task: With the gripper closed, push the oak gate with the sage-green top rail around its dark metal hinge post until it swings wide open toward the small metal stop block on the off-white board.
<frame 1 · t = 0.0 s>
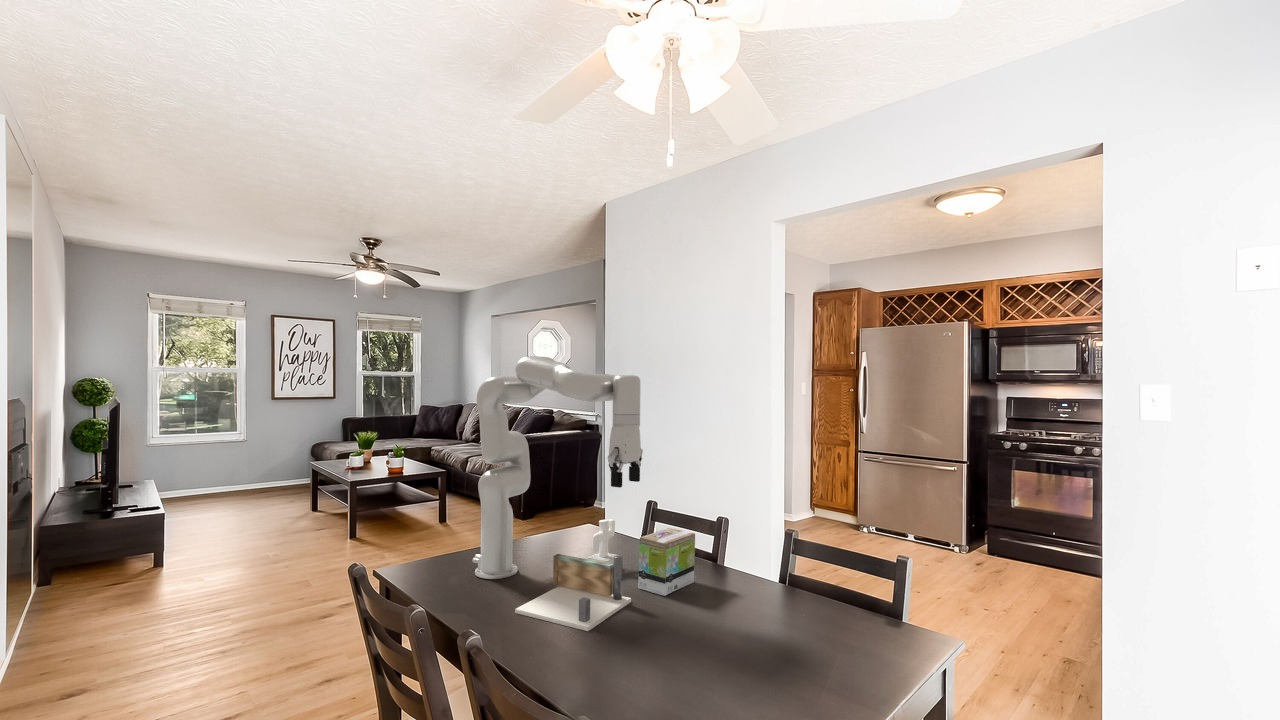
hand: (625, 484, 161), 31 cm above the table, tool pointing down, fingers open, 9 cm apart
gate: (582, 574, 164), point 5 cm above the table, hinge at 0.0°
figurine: (603, 568, 186), on the table
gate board: (574, 607, 155), on the table
hinge post: (617, 602, 158), resting on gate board
tea box: (666, 586, 171), on the table
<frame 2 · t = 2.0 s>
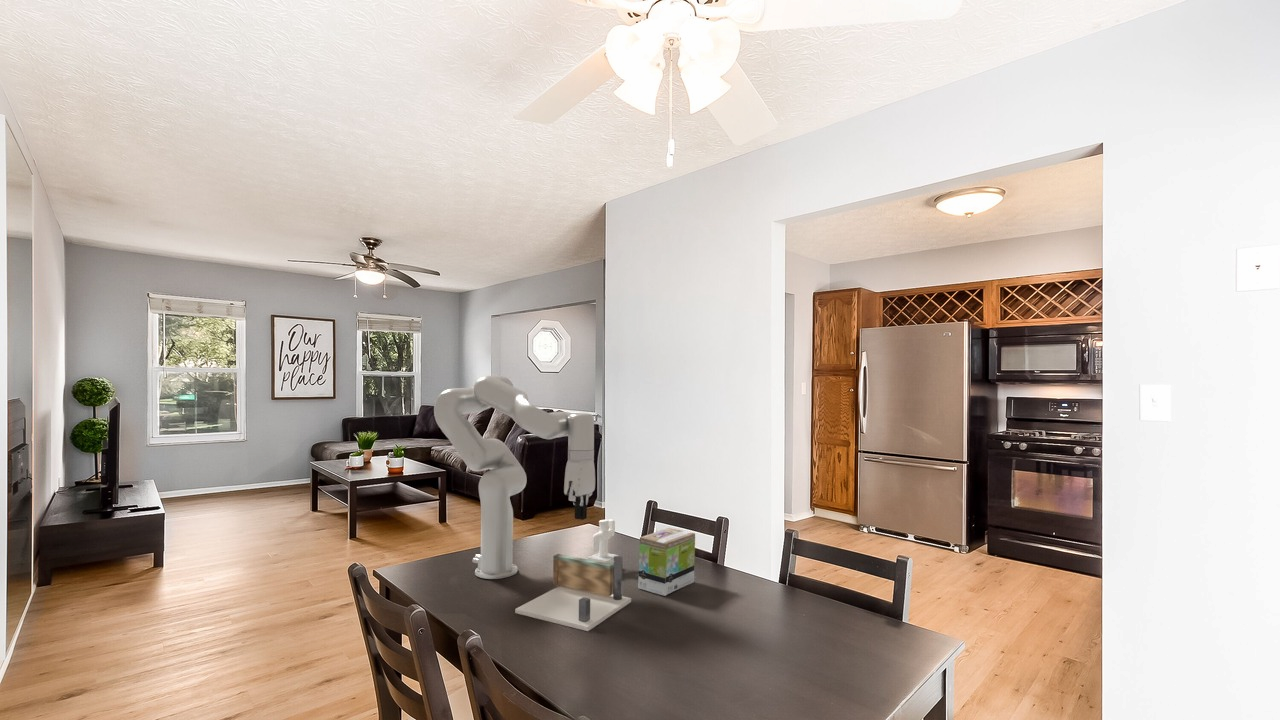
hand: (580, 518, 173), 19 cm above the table, tool pointing down, fingers closed
nothing on the table moved.
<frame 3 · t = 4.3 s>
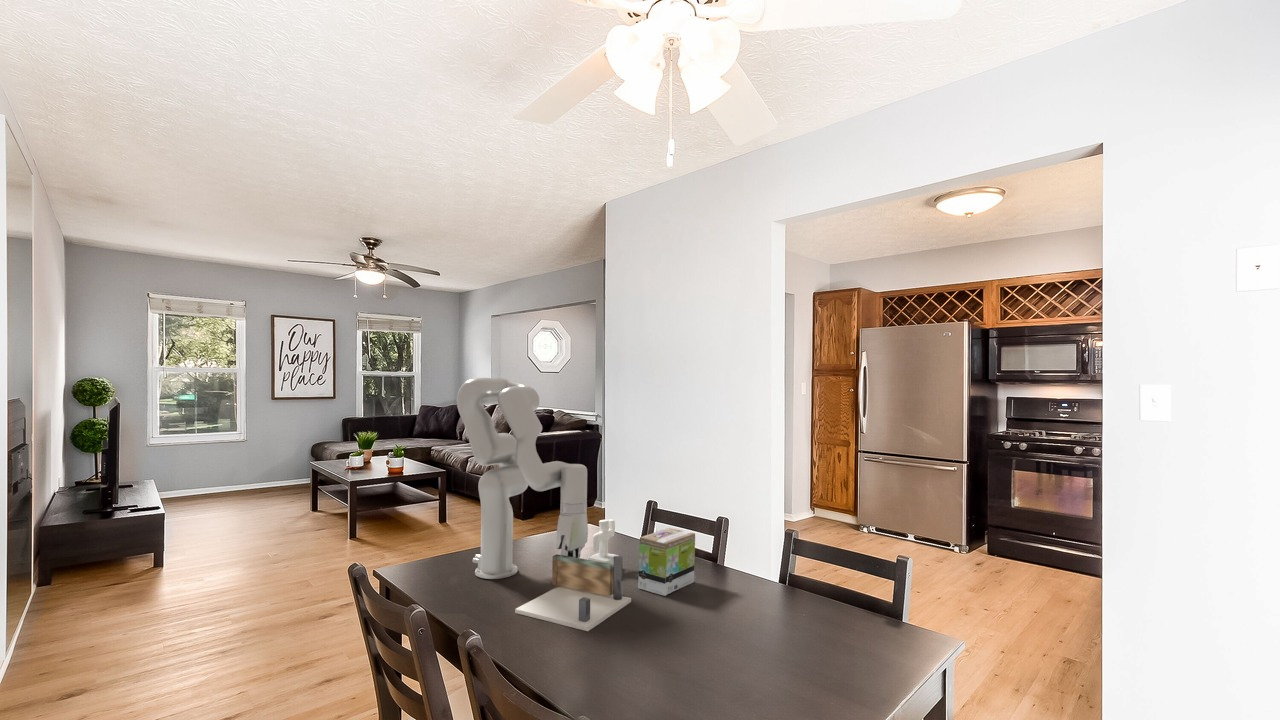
hand: (572, 572, 170), 4 cm above the table, tool pointing down, fingers closed
gate: (582, 574, 164), point 5 cm above the table, hinge at 1.3°, touching gripper
everything else where it was.
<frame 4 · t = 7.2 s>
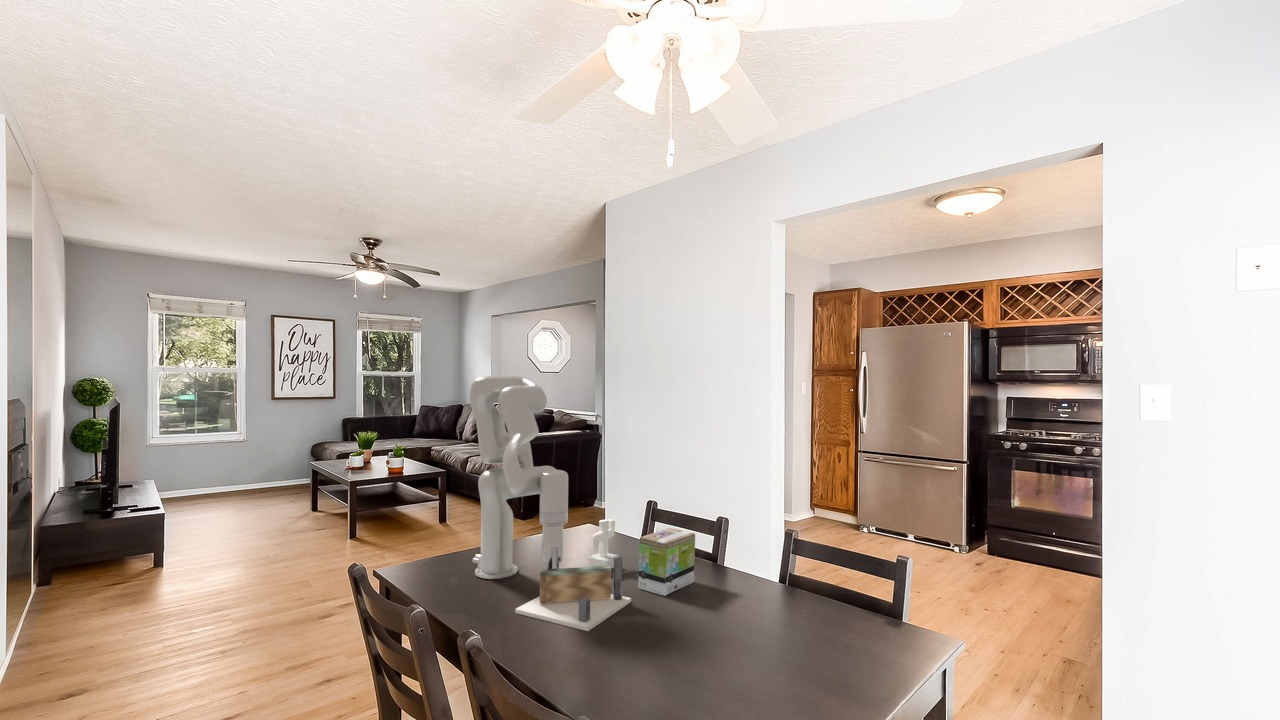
hand: (552, 585, 159), 4 cm above the table, tool pointing down, fingers closed
gate: (575, 584, 156), point 5 cm above the table, hinge at 40.5°, touching gripper
everything else where it was.
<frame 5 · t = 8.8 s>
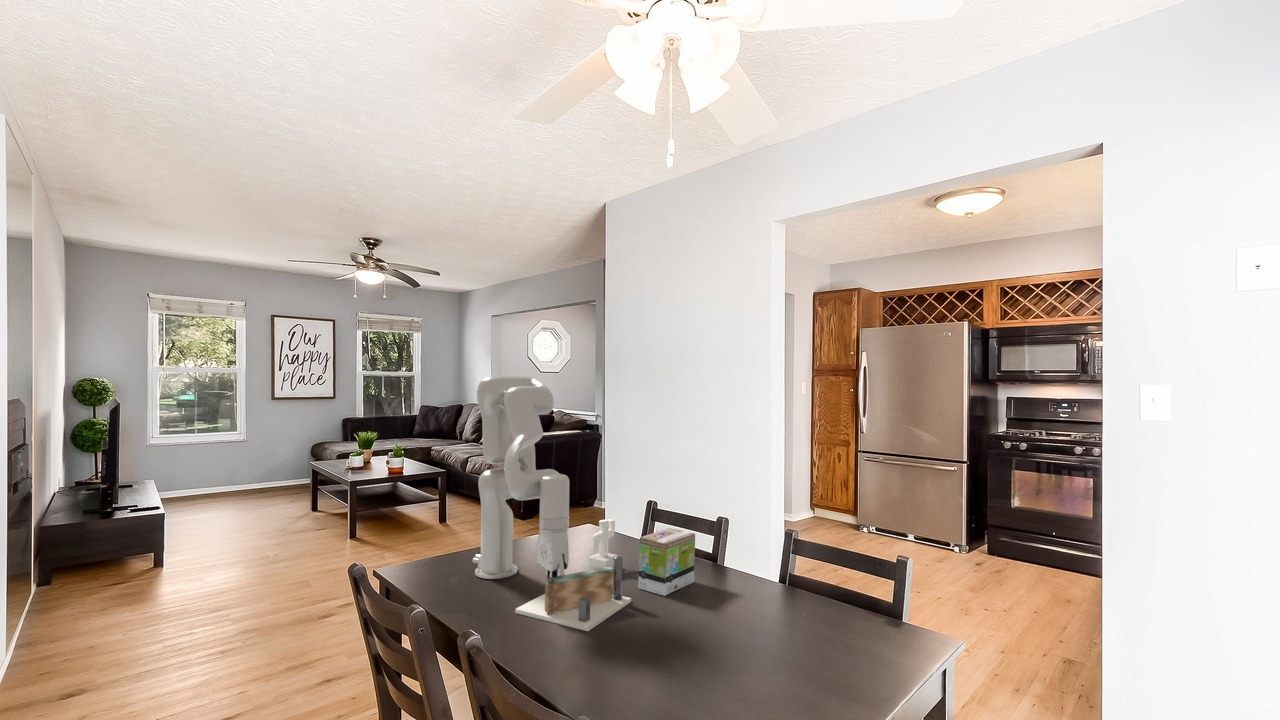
hand: (553, 594, 153), 4 cm above the table, tool pointing down, fingers closed
gate: (580, 589, 153), point 5 cm above the table, hinge at 60.6°, touching gripper
everything else where it was.
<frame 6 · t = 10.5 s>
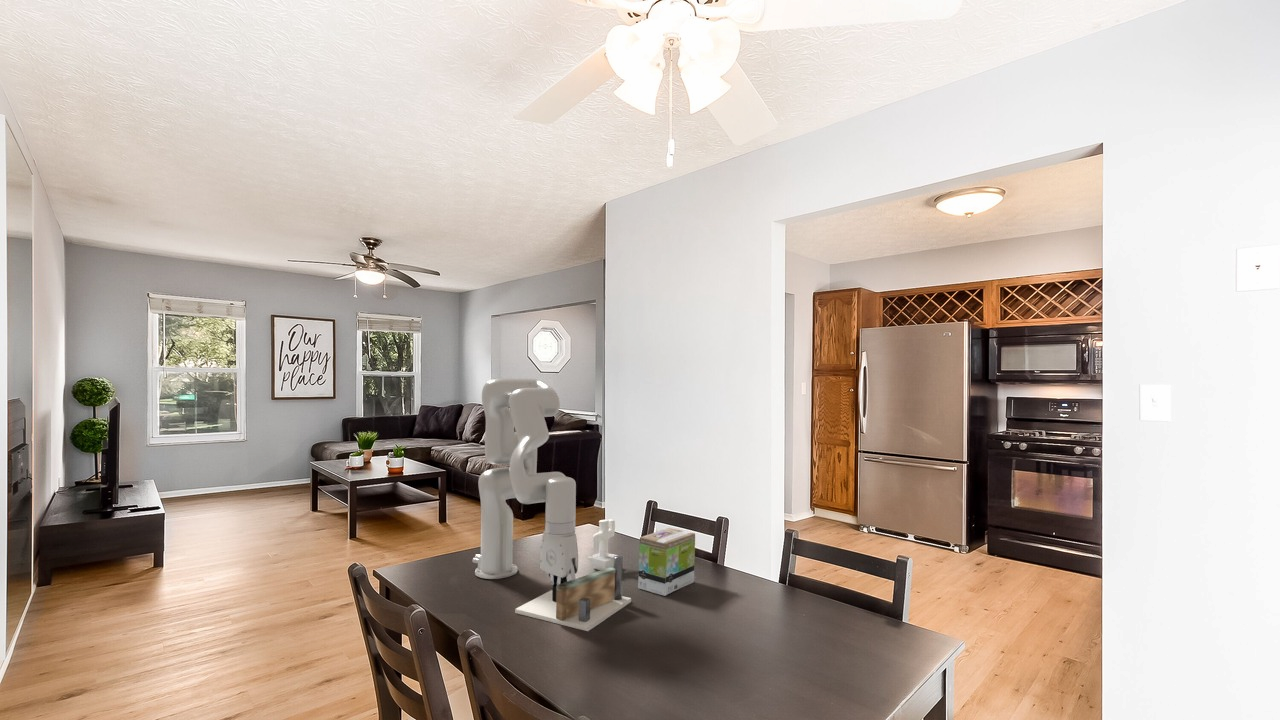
hand: (559, 600, 149), 4 cm above the table, tool pointing down, fingers closed
gate: (587, 592, 150), point 5 cm above the table, hinge at 76.6°, touching gripper
everything else where it was.
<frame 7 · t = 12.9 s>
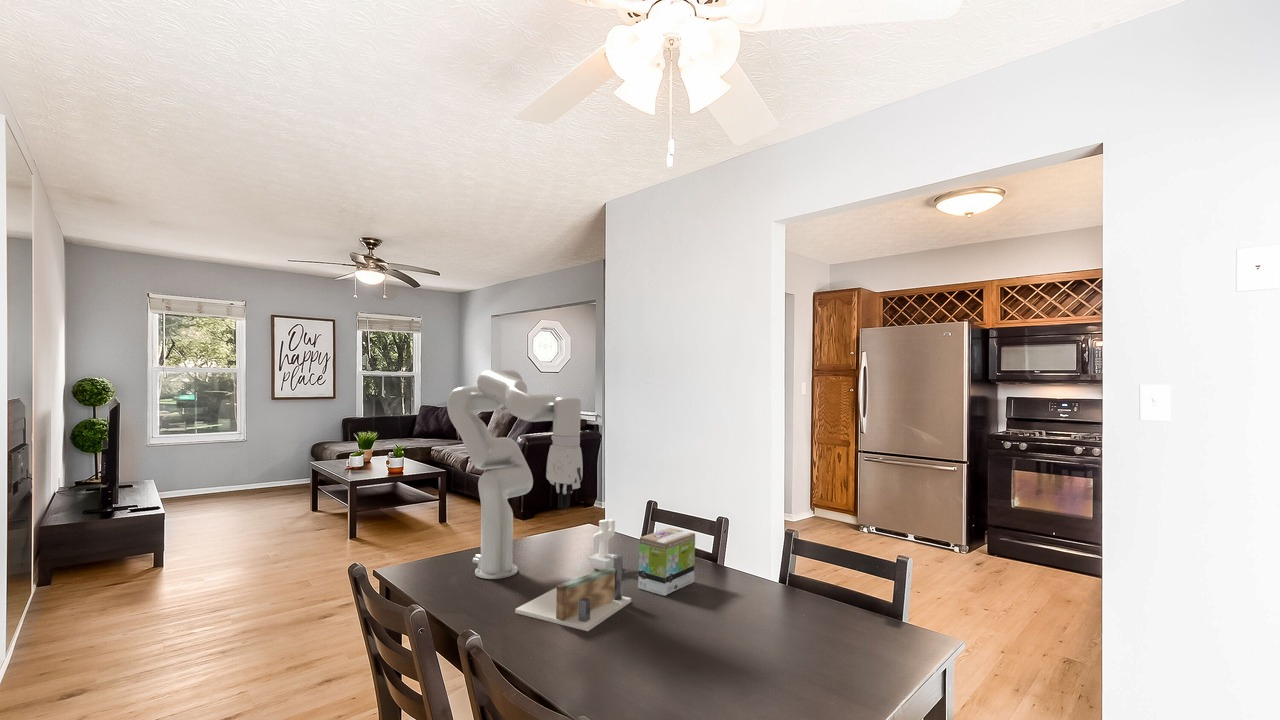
hand: (563, 507, 165), 24 cm above the table, tool pointing down, fingers closed
gate: (587, 592, 150), point 5 cm above the table, hinge at 76.6°
everything else where it was.
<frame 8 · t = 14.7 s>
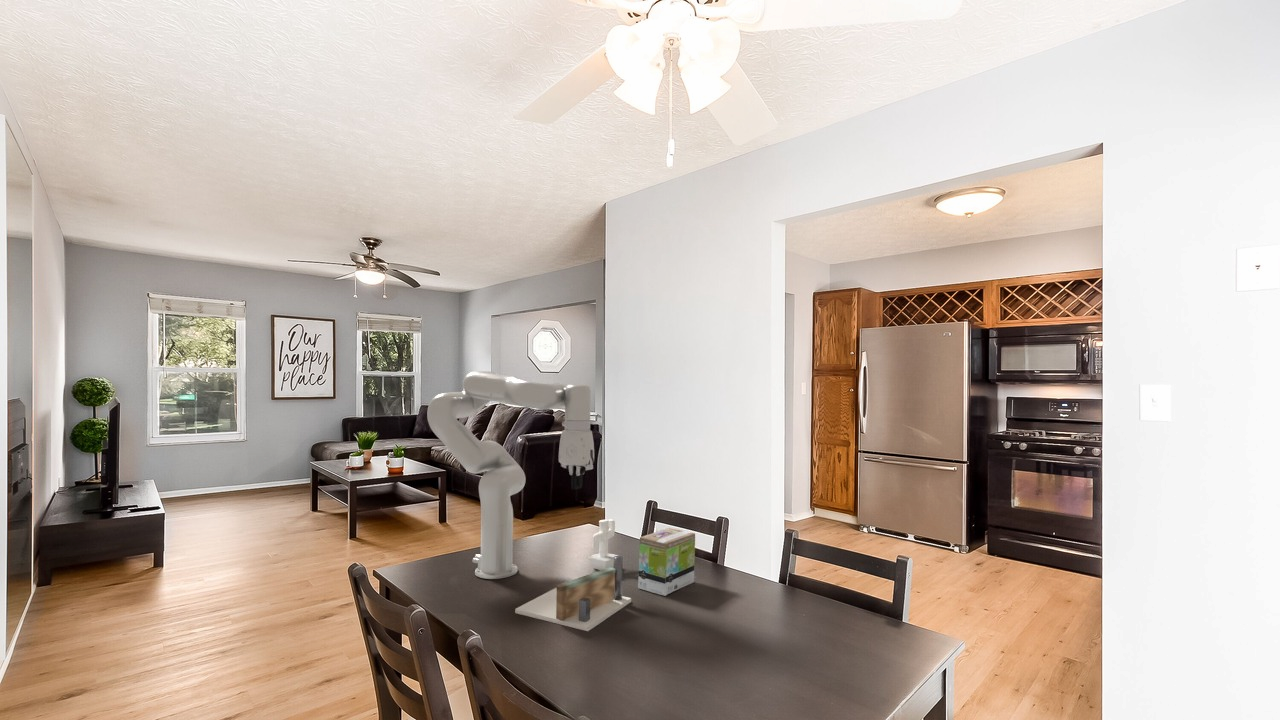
hand: (576, 488, 175), 27 cm above the table, tool pointing down, fingers closed
nothing on the table moved.
at the end: gate at +77° (first picture: +0°); tea box moved 0.3 cm from its start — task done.
